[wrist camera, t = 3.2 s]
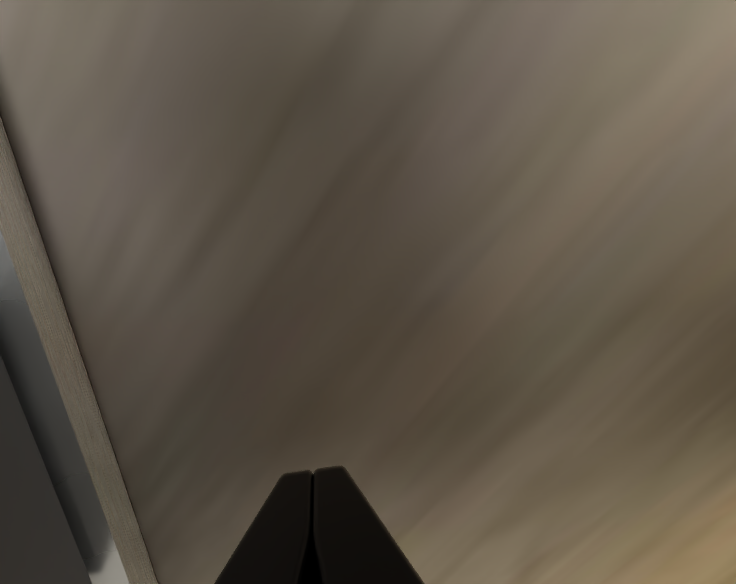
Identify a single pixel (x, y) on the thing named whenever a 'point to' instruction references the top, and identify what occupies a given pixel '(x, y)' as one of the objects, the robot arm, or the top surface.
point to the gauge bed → (61, 395)
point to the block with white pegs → (30, 507)
